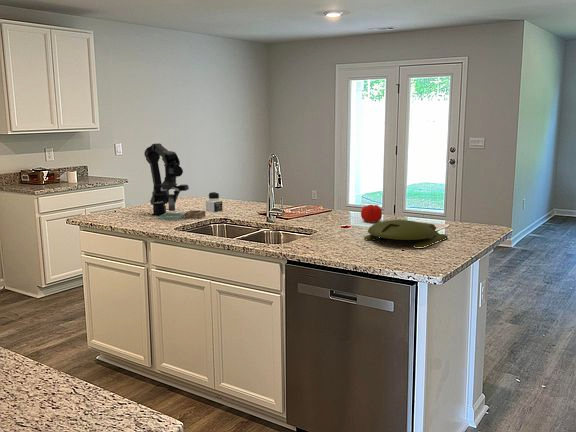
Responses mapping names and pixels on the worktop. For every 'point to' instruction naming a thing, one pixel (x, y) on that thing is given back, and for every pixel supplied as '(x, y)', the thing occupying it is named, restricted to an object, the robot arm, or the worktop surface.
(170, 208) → the stop pin
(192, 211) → the socket block
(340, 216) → the worktop surface
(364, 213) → the tomato
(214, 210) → the medicine bottle
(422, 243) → the olive green domed shape
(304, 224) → the worktop surface
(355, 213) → the worktop surface
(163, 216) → the tray
